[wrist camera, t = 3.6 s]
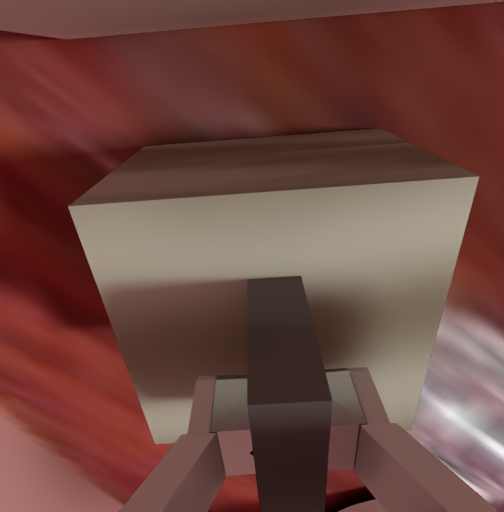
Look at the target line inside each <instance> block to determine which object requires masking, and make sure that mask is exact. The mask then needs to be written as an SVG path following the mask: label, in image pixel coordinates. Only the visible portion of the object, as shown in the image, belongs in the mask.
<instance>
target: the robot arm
mask: <svg viewBox="0 0 504 512" xmlns="http://www.w3.org/2000/svg"><path fill="white" fill-rule="evenodd" d="M325 373H326V377H327V381H328V385H329V389H330V393H331V397H332V400H333V401H332V415H331V428H330V442H329V455H328V469H327V470H354V472H355V473H356V474H357V476H358V477H359V478H360V479H361V481H362V482H363V483H364V485H365V486H366V487H367V488H368V490H369V491H370V492H371V493H372V495H373V496H374V497H375V498H376V499H375V500H370V501H366V502H362V503H359V504H356V505H353V506H350V507H347V508H345V509H343V510H340V511H338V512H497V511H496V509H495V508H494V507H493V506H492V505H491V504H489V503H488V502H487V501H486V500H485V499H484V498H482V497H481V496H480V495H479V494H478V493H477V492H475V491H474V490H473V489H472V488H471V487H470V486H469V485H467V484H466V483H465V482H464V481H463V480H462V479H460V478H459V477H458V476H457V475H456V474H455V473H454V472H452V471H451V470H450V469H449V468H448V467H447V466H445V465H444V464H443V463H442V462H441V461H440V460H439V459H437V458H436V457H435V456H434V455H433V454H432V453H430V452H429V451H428V450H427V449H426V448H425V447H424V446H422V445H421V444H420V443H419V442H418V441H417V440H415V439H414V438H413V437H412V436H411V435H410V434H408V433H407V432H406V431H405V430H404V429H403V428H402V427H400V426H399V425H398V424H397V423H390V421H389V418H388V416H387V413H386V411H385V408H384V406H383V404H382V401H381V399H380V396H379V394H378V391H377V389H376V386H375V384H374V381H373V379H372V376H371V374H370V371H369V370H368V368H367V367H357V368H336V369H325ZM244 474H256V472H255V464H254V456H253V448H252V440H251V432H250V423H249V415H248V407H247V375H217V376H198V379H197V381H196V385H195V391H194V397H193V403H192V409H191V415H190V421H189V427H188V433H187V434H184V435H181V436H180V437H179V438H178V440H177V441H176V442H175V443H174V445H173V446H172V447H171V448H170V450H169V451H168V452H167V453H166V455H165V456H164V457H163V458H162V459H161V461H160V462H159V463H158V464H157V466H156V467H155V468H154V469H153V471H152V472H151V473H150V474H149V476H148V477H147V478H146V479H145V480H144V482H143V483H142V484H141V485H140V487H139V488H138V489H137V490H136V492H135V493H134V494H133V495H132V496H131V498H130V499H129V500H128V501H127V503H126V504H125V505H124V506H123V508H122V509H121V510H120V511H119V512H208V510H209V508H210V506H211V504H212V503H213V501H214V499H215V497H216V495H217V493H218V491H219V490H220V488H221V486H222V484H223V482H224V480H225V479H226V478H225V476H232V475H244Z"/></svg>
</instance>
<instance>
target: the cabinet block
mask: <svg viewBox="0 0 504 512" xmlns="http://www.w3.org/2000/svg"><path fill="white" fill-rule="evenodd" d="M478 179H479V176H477V175H475V174H473V173H471V172H469V171H467V170H465V169H463V168H461V167H459V166H457V165H455V164H453V163H450V162H448V161H446V160H444V159H442V158H440V157H438V156H436V155H434V154H432V153H430V152H428V151H426V150H424V149H421V148H419V147H417V146H415V145H413V144H411V143H409V142H407V141H405V140H403V139H401V138H399V137H397V136H395V135H392V134H390V133H388V132H386V131H384V130H382V129H380V128H375V129H362V130H349V131H336V132H323V133H310V134H297V135H284V136H271V137H258V138H245V139H232V140H219V141H206V142H193V143H180V144H168V145H155V146H144V147H143V148H141V149H140V150H139V151H138V152H136V153H135V154H134V155H133V156H131V157H130V158H129V159H127V160H126V161H125V162H124V163H122V164H121V165H120V166H119V167H117V168H116V169H115V170H113V171H112V172H111V173H110V174H108V175H107V176H106V177H105V178H103V179H102V180H101V181H99V182H98V183H97V184H96V185H94V186H93V187H92V188H91V189H89V190H88V191H87V192H85V193H84V194H83V195H82V196H80V197H79V198H78V199H77V200H75V201H74V202H73V203H72V204H70V205H69V206H68V208H69V211H70V214H71V216H72V219H73V222H74V225H75V227H76V230H77V233H78V235H79V238H80V241H81V244H82V246H83V249H84V252H85V254H86V257H87V260H88V263H89V265H90V268H91V271H92V273H93V276H94V279H95V282H96V284H97V287H98V290H99V293H100V295H101V298H102V301H103V303H104V306H105V309H106V312H107V314H108V317H109V320H110V322H111V325H112V328H113V331H114V333H115V336H116V339H117V341H118V344H119V347H120V350H121V352H122V355H123V358H124V360H125V363H126V366H127V369H128V371H129V374H130V377H131V380H132V382H133V385H134V388H135V390H136V393H137V396H138V399H139V401H140V404H141V407H142V409H143V412H144V415H145V418H146V420H147V423H148V426H149V428H150V431H151V434H152V437H153V439H154V442H155V444H164V443H175V442H176V441H177V440H178V438H179V437H180V436H181V435H184V434H187V433H188V427H189V421H190V415H191V409H192V403H193V397H194V391H195V385H196V381H197V379H198V376H217V375H247V407H248V415H249V423H250V432H251V440H252V448H253V456H254V464H255V472H256V481H257V489H258V497H259V505H260V512H324V510H325V496H326V483H327V469H328V455H329V442H330V428H331V415H332V401H333V400H332V397H331V393H330V389H329V385H328V381H327V377H326V373H325V369H336V368H357V367H367V368H368V370H369V371H370V374H371V376H372V379H373V381H374V384H375V386H376V389H377V391H378V394H379V396H380V399H381V401H382V404H383V406H384V408H385V411H386V413H387V416H388V418H389V421H390V423H397V424H398V425H399V426H400V427H402V428H403V429H404V430H405V431H407V430H411V427H412V424H413V420H414V416H415V413H416V409H417V405H418V402H419V398H420V394H421V390H422V387H423V383H424V379H425V376H426V372H427V368H428V365H429V361H430V357H431V353H432V350H433V346H434V342H435V339H436V335H437V331H438V327H439V324H440V320H441V316H442V313H443V309H444V305H445V302H446V298H447V294H448V290H449V287H450V283H451V279H452V276H453V272H454V268H455V265H456V261H457V257H458V253H459V250H460V246H461V242H462V239H463V235H464V231H465V228H466V224H467V220H468V216H469V213H470V209H471V205H472V202H473V198H474V194H475V190H476V187H477V183H478Z"/></svg>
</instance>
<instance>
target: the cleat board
mask: <svg viewBox="0 0 504 512" xmlns="http://www.w3.org/2000/svg"><path fill="white" fill-rule="evenodd" d="M493 2H504V0H0V30H1V31H9V32H16V33H23V34H30V35H38V36H45V37H52V38H59V39H76V38H88V37H100V36H111V35H123V34H134V33H146V32H157V31H169V30H181V29H192V28H204V27H215V26H227V25H239V24H250V23H262V22H273V21H285V20H296V19H308V18H320V17H331V16H343V15H354V14H366V13H377V12H389V11H401V10H412V9H424V8H435V7H447V6H458V5H470V4H482V3H493Z"/></svg>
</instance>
